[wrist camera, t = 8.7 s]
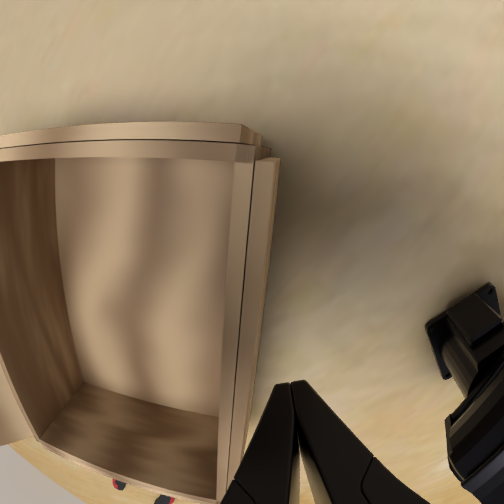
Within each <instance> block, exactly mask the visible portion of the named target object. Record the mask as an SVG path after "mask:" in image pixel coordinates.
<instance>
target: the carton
mask: <svg viewBox="0 0 504 504" xmlns="http://www.w3.org/2000/svg"><path fill="white" fill-rule="evenodd" d="M261 142H262V136H261V135H259V134H257V133H256V132H254V131H252V130H250V129H249V128H247V127H245V126H243V125H242V124H228V123H207V122H125V123H104V124H90V125H77V126H67V127H57V128H48V129H40V130H33V131H26V132H19V133H13V134H7V135H1V136H0V364H1V367H2V369H3V372H4V374H5V377H6V379H7V382H8V384H9V386H10V389H11V391H12V393H13V395H14V397H15V400H16V402H17V404H18V406H19V408H20V410H21V412H22V414H23V416H24V418H25V420H26V422H27V424H28V426H29V428H30V430H31V431H32V433H33V435H34V437H35V439H36V440H37V441H38V442H40V443H41V444H42V446H43V447H44V448H46V449H47V450H49V451H51V452H53V453H55V454H57V455H59V456H61V457H63V458H66V459H68V460H70V461H72V462H74V463H76V464H79V465H81V466H83V467H85V468H88V469H90V470H93V471H95V472H97V473H100V474H102V475H105V476H108V477H110V478H113V479H116V480H118V481H121V482H124V483H127V484H130V485H133V486H136V487H139V488H142V489H145V490H149V491H152V492H155V493H159V494H163V495H166V496H170V497H174V498H178V499H182V500H186V501H191V502H195V503H200V504H220V502H221V501H222V499H223V497H224V495H225V493H226V491H227V490H228V487H229V485H230V483H231V481H232V480H234V475H235V473H236V471H237V469H238V467H239V465H240V463H241V461H242V459H243V455H244V449H245V443H246V438H247V432H248V426H249V419H250V412H251V404H252V397H253V389H254V382H255V374H256V367H257V359H258V351H259V343H260V335H261V327H262V319H263V311H264V303H265V294H266V286H267V277H268V269H269V260H270V251H271V243H272V234H273V225H274V216H275V206H276V197H277V187H278V178H279V168H280V158H274V157H270V152H271V148H266V147H261ZM12 147H13V148H12ZM3 148H5V149H3Z"/></svg>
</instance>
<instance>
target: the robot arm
mask: <svg viewBox="0 0 504 504" xmlns="http://www.w3.org/2000/svg"><path fill="white" fill-rule="evenodd" d="M489 289H490V291H489ZM488 291H489V292H488ZM433 326H434V327H433ZM431 327H433V329H431V330H430V328H431ZM425 330H426V333H427V336H428V338H429V341H430V344H431V347H432V350H433V353H434V355H435V358H436V361H437V364H438V367H439V370H440V373H441V376H442V378H443V379H444V380H447V379H449V378H451V377H452V376H453V378H454V380H455V381H456V383H457V385H458V387H459V388H460V390H461V392H462V394H463V396H464V397H465V400H464V401H463V402H462V403H461V404H460V405H459V406H458V408H457V409H456V410H455V411H454V412H453V413H452V414H450V415H449V416H448V417H447V418H446V419H445V428H446V439H447V453H448V462H449V467H450V469H451V471H452V472H453V474H454V475H455V476H456V478H457V479H458V480H459V481H460V482H461V486H462V487H463V488H464V489H466V490H467V491H469V492H471V493H472V494H473V495H474V496H475V497H476V498H477V499H478V500H479V501H480V502H481V503H482V504H504V319H503V318H502V317H501V316H500V310H499V304H498V299H497V294H496V290H495V287H494V286H493V285H492V284H491V283H488V284H486V285H485V286H484V287H482V288H481V289H479V290H478V291H476V292H475V293H474V294H472V295H471V296H469V297H468V298H466V299H465V300H463V301H462V302H460V303H459V304H457V305H456V306H454V307H452V308H451V309H449V310H448V311H446V312H445V313H443V314H441V315H440V316H438V317H436V318H435V319H433V320H432V321H430V322H429V323H427V325H426V327H425ZM298 441H299V442H298ZM299 447H300V451H299ZM300 453H301V457H302V460H303V464H304V467H305V470H306V474H307V477H308V481H309V484H310V487H311V491H312V494H313V497H314V501H315V504H430V503H429V502H427V501H426V500H425V499H423V498H422V497H420V496H419V495H418V494H416V493H415V492H414V491H412V490H411V489H410V488H408V487H407V486H406V485H405V484H403V483H402V482H401V481H400V480H399V479H397V478H396V477H395V476H394V475H393V474H392V473H391V472H390V471H389V470H388V469H387V468H386V467H385V466H384V465H383V464H382V463H381V462H380V461H379V460H378V459H377V458H376V457H374V455H373V454H372V453H371V452H370V451H369V450H368V449H367V448H366V446H365V445H364V444H363V443H362V442H361V441H360V440H359V439H358V438H357V437H356V436H355V435H354V433H353V432H352V431H351V430H350V429H349V428H348V427H347V426H346V425H345V424H344V423H343V421H342V420H341V419H340V418H339V417H338V416H337V415H336V414H335V413H334V411H333V410H332V409H331V408H330V407H329V406H328V405H327V404H326V403H325V401H324V400H323V399H322V398H321V397H320V396H319V395H318V394H317V392H316V391H315V390H314V389H313V388H312V387H311V386H310V384H309V383H308V382H307V381H306V380H299V381H293V382H291V385H290V383H288V382H287V383H280V384H276V385H275V386H274V388H273V390H272V393H271V395H270V398H269V400H268V402H267V405H266V407H265V409H264V412H263V414H262V416H261V419H260V421H259V423H258V425H257V428H256V430H255V432H254V434H253V437H252V439H251V441H250V443H249V446H248V448H247V450H246V452H245V454H244V456H243V459H242V461H241V463H240V465H239V467H238V469H237V471H236V473H235V475H234V480H232V481H231V483H230V485H229V487H228V490H227V491H226V493H225V495H224V497H223V499H222V501H221V502H220V504H299V492H300Z"/></svg>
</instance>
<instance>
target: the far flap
mask: <svg viewBox="0 0 504 504" xmlns="http://www.w3.org/2000/svg"><path fill="white" fill-rule="evenodd" d="M32 436H34V435H33V433H32V431H31V430H30V428H29V426H28V424H27V422H26V420H25V418H24V416H23V414H22V412H21V410H20V408H19V406H18V404H17V402H16V400H15V397H14V395H13V393H12V391H11V389H10V386H9V384H8V382H7V379H6V377H5V374H4V372H3V369H2V367H1V364H0V446H2V445H6V444H9V443H13V442H16V441H19V440H23V439H26V438H29V437H32Z"/></svg>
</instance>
